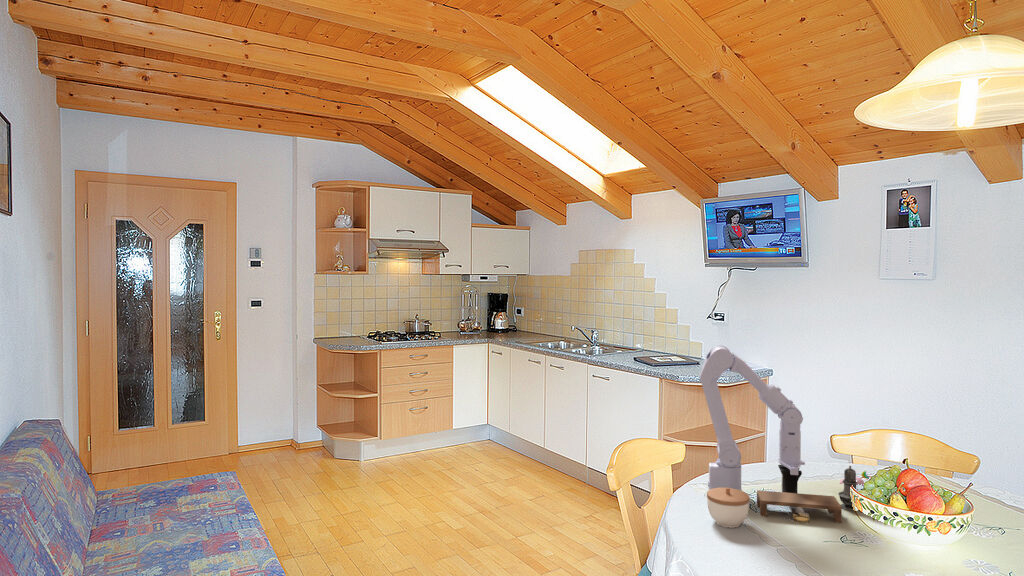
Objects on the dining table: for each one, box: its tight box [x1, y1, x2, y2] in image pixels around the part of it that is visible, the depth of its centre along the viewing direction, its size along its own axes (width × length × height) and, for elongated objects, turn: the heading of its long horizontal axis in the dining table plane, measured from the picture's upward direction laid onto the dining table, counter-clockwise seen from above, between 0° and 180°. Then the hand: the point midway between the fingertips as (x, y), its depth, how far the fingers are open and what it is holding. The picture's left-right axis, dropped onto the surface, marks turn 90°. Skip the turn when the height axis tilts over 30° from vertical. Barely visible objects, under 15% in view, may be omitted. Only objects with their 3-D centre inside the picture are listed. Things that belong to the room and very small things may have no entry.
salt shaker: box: [837, 465, 857, 512], centre depth 173 cm, size 6×6×12 cm
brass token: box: [792, 513, 810, 524], centre depth 166 cm, size 4×4×1 cm
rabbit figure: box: [839, 470, 870, 486], centre depth 188 cm, size 6×6×15 cm
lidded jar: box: [706, 488, 751, 529], centre depth 164 cm, size 11×11×9 cm
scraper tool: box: [781, 474, 810, 517], centre depth 175 cm, size 5×15×7 cm, turn 166°
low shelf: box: [756, 489, 843, 524], centre depth 170 cm, size 20×8×4 cm, turn 75°
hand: (789, 491), depth 181 cm, fingers closed on scraper tool
